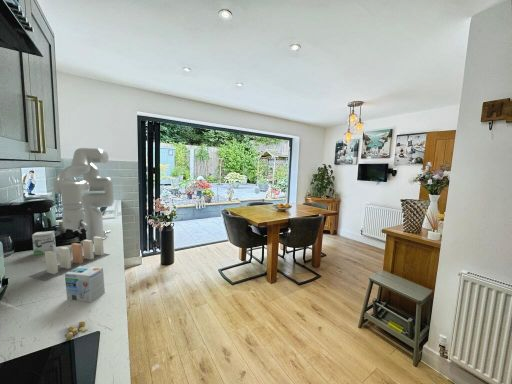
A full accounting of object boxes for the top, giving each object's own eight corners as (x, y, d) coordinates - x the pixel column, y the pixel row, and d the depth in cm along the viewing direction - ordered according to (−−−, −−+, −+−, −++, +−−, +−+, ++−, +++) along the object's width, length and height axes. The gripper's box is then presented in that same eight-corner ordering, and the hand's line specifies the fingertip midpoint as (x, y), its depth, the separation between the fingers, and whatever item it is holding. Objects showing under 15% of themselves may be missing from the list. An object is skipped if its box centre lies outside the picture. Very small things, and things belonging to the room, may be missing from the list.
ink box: (33, 255, 120) (30, 235, 119) (36, 252, 124) (34, 232, 123) (54, 252, 124) (51, 232, 123) (56, 249, 129) (54, 230, 127)
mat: (95, 252, 126) (95, 251, 126) (110, 255, 122) (110, 254, 122) (28, 277, 98) (28, 276, 98) (45, 282, 94) (45, 281, 94)
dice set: (66, 342, 63) (66, 337, 63) (65, 333, 67) (64, 327, 67) (88, 333, 67) (87, 327, 67) (85, 324, 71) (85, 319, 70)
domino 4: (97, 253, 124) (96, 236, 122) (103, 254, 122) (102, 237, 121) (94, 254, 122) (93, 237, 121) (101, 255, 121) (99, 238, 119)
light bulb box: (66, 300, 82) (63, 273, 81) (82, 289, 89) (80, 265, 87) (91, 303, 81) (88, 275, 79) (105, 292, 87) (103, 267, 86)
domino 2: (64, 265, 108) (62, 246, 107) (71, 267, 107) (69, 248, 105) (60, 267, 107) (58, 247, 105) (67, 268, 105) (65, 249, 104)
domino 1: (51, 270, 103) (48, 250, 102) (58, 272, 101) (56, 252, 100) (47, 272, 101) (44, 252, 100) (54, 274, 100) (51, 253, 99)
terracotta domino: (76, 261, 113) (74, 242, 112) (83, 262, 112) (81, 244, 110) (73, 262, 112) (71, 243, 110) (79, 263, 110) (78, 245, 109)
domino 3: (87, 256, 118) (85, 239, 117) (94, 258, 117) (92, 240, 116) (84, 258, 117) (82, 240, 116) (90, 259, 115) (89, 241, 114)
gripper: (52, 206, 107) (56, 239, 110) (76, 209, 102) (80, 244, 105) (69, 203, 114) (72, 234, 117) (92, 206, 109) (95, 238, 112)
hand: (76, 238), depth 111 cm, fingers open, 9 cm apart
